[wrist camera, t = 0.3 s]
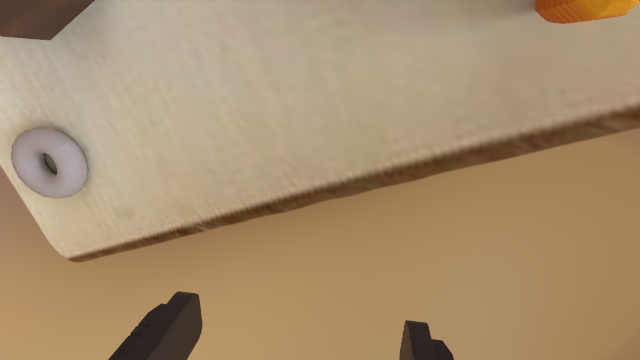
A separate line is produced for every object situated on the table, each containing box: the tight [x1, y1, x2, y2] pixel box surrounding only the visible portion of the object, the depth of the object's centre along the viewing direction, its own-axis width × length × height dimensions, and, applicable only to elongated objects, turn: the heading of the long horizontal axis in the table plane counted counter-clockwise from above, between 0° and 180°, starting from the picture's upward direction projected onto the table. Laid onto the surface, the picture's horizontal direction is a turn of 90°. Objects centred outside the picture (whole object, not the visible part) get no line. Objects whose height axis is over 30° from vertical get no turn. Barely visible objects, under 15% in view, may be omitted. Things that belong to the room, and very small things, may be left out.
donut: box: [11, 127, 88, 199], centre depth 44 cm, size 10×4×10 cm
